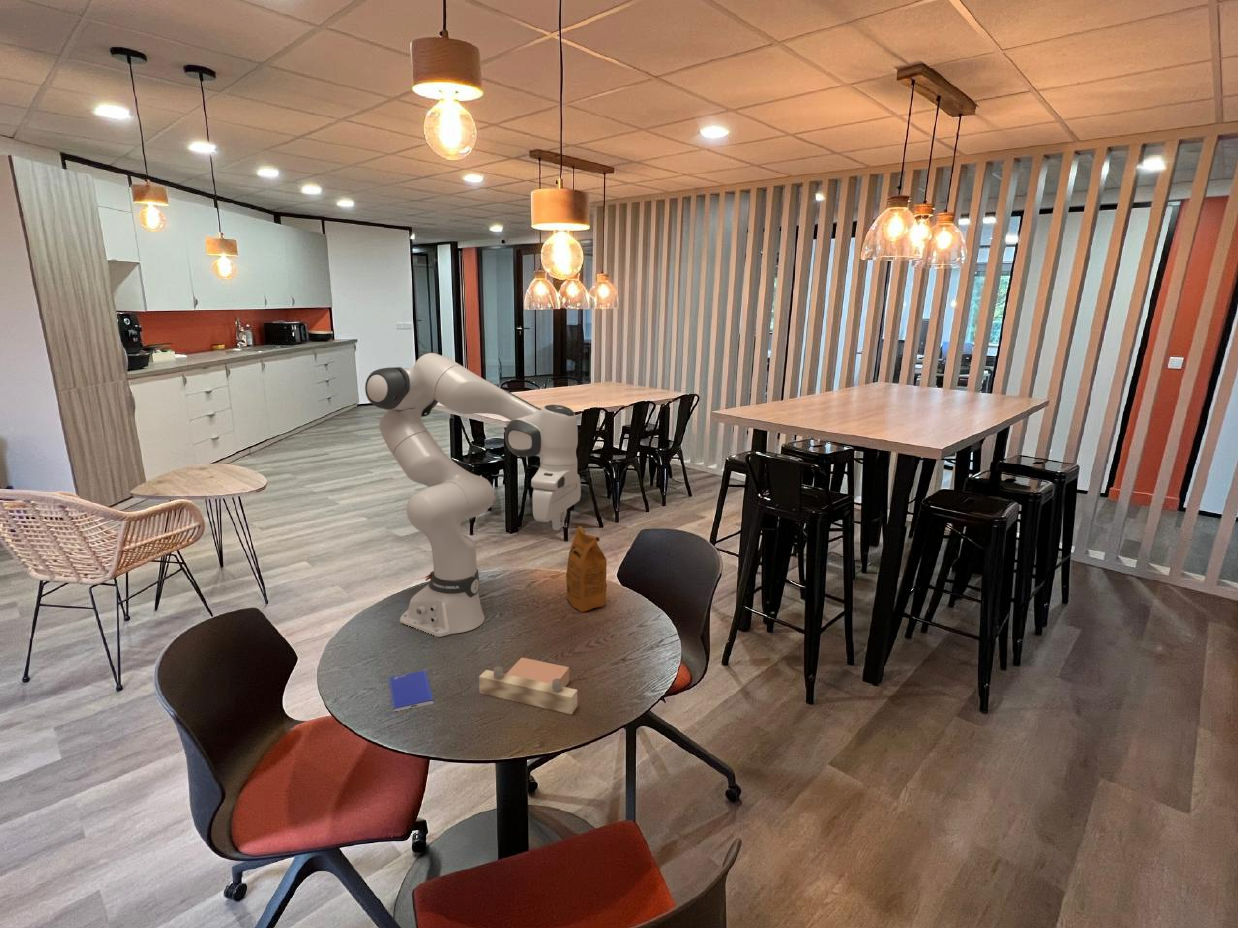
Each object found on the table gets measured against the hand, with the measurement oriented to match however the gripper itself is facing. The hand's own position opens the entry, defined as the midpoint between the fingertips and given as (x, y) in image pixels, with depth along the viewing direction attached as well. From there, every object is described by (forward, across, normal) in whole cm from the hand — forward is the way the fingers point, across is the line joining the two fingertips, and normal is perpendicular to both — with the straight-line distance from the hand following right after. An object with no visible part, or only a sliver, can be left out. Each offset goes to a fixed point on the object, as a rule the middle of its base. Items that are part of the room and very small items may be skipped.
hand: (558, 528), depth 154 cm
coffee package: (+31, -23, -2) cm, 39 cm away
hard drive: (+32, +32, -21) cm, 49 cm away
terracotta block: (+31, +20, +4) cm, 37 cm away
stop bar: (+30, +25, +4) cm, 40 cm away
